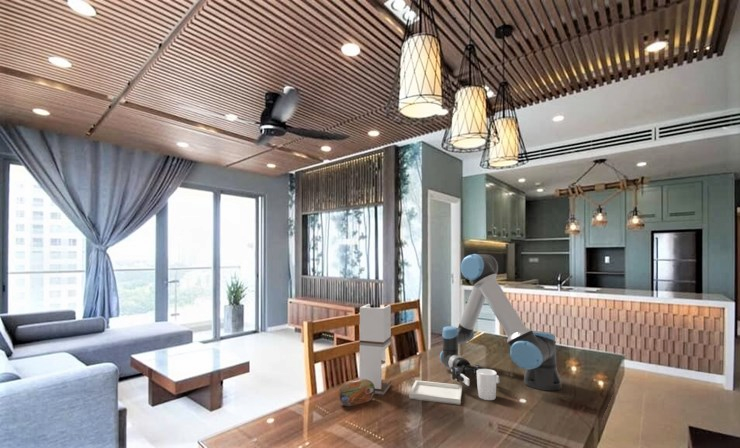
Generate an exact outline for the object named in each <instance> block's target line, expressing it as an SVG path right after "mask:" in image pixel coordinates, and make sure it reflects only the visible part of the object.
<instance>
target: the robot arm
mask: <svg viewBox="0 0 740 448" xmlns="http://www.w3.org/2000/svg"><path fill="white" fill-rule="evenodd" d="M498 264H499V263H498V262H497V260H496V258H495V257H494V256H492V255H490V254H487V253H484V254H478V253H472V254H468V255H467V256H464V258H463V259H462V261H461V263H460V272H461V274H462V276H463V278H465V279H466V280H469V281H470V282H471V284H472V289H471V292H470V294H469V297H468V299H467V302H466V305H465V308H464V311H463V313H462V316H461V319H460V321H459V324H458V326H453V325H450V326H449V325H448V326H447V325H446V326H444V327H442V334H441V335H442V336H441V337H442V351H440V353H439V360H440V362H441V363H442V364H443V365H444V366H445V367H447V368H449V369H450V373H451V376H452V377H451V378H452V379H451V380H453V381H454V380H455V381H456V382H458V383H460V382H462V384H465V385H466V386H467V387H469V386H470V378H469V377H467V375H470V376H471V375H473V376H477V372H476V371H477V370H478V369H490V370H493V371H495V372H496V370H495V369H491V368H488V367H484V366H481V365H478V364H476V365H475V366H474V365H472V364H471V363H470V362H469V360H467V359H465V357H462V356H461V355H459V345H461V344H463V343H468V342H470V341H472V340H473V339H474V337H475V331H474V329H475V327H476V324H477V322H478V319H479V316H480V314H481V311H482V308H483V306H484V305H485V304H484V303H485V301H486V302H487V304H488V305H489V307H490V309H491V311H492V312H493V314H494V315H495V317H496V319H497V321H498V322H499V324H500V326H501V327H502V329H503V331H504V332H505V334H506V336H507V341H506V343H507V344H508V346H509V348H510V350H509V354H510V355H509V356H510V359H511V360H512V361H513V363H514V364H515V365H516V366H518V367H520V368H521V369H523V370H525V373H524V376H523V383H524V384H525V385H526V386H528V387H529V388H533V389H536V390H541V391H559V390H561V389H562V386H563V385H562V380H561V377H560V374H559V372H558V369H557V349H556V348H557V344H556V343H557V341H556V336H555V334H554V333H551V332H546V331H538V330H532V329H531V328H527V327H526V326H525V324H524V322H523V320H522V319H521V318H520V315H519V314H518V313H517V311H516V309H515V308H514V306H513V305H512V303H511V302H510V300H509V299H508V296H507V295H506V294H505V292H504V290H503V288H502V287H501V286H500V284H499V283H498V281H497V275H498V271H499V265H498ZM496 384H500V376H499V375H498V374H497V381H496Z"/></svg>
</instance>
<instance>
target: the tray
mask: <svg viewBox="0 0 740 448" xmlns="http://www.w3.org/2000/svg"><path fill="white" fill-rule="evenodd" d="M462 394H463V385H462V384H456V383H454V384H453V383H446V382H445V383H444V382H437V381H426V380H425V381H424V380H416V379H415V381H414V383H413V384H412V387H411V389H410V391H409V393H408V398H409V400H418V401H425V402H434V403H442V404H449V405H450V404H451V405H459V406H460V405H461V403H462V401H461V400H462Z"/></svg>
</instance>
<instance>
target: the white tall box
mask: <svg viewBox="0 0 740 448" xmlns="http://www.w3.org/2000/svg"><path fill="white" fill-rule="evenodd" d="M391 308H392V307H391V304H388V305H385V306H383V307H371V304H370V303H367V304H365V305H364V304H363V306H360V307H359V360H358V361H359V362H358V363H359V364H358V365H359V366H358V367H359V378H358V380H361V379H367V380H369V381H371V382H372V383H373V384H374V387H375V393H374V395H375V394H376V395H382V396H384V394H386V392H387V391H388V390H389V388H390V387H391V386H392V382H391V380H390V379H383V378H382V365H384V364H386V349H387V348H388V347H389V346H390V345H391V344H392V334H391V333H392V331H391V329H392V325H391V324H392V321H391V319H392V315H391V313H392V311H391V310H392V309H391Z"/></svg>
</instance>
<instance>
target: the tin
mask: <svg viewBox="0 0 740 448" xmlns="http://www.w3.org/2000/svg"><path fill="white" fill-rule="evenodd" d="M374 395H375V387H374V384H373V383H372V382H371V381H369V380H367V379H361V380H359V379H357V380H352V381H346V382H344V383H343V384H342V385H341V386H340V387H339V389H338V394H337V397H338V400H339V401H340V403H341V404H342V405H344V406H345V407H352V406H355V405H360V404H365V403H368V402H370V401H371V400H372V399H373V397H374Z"/></svg>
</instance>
